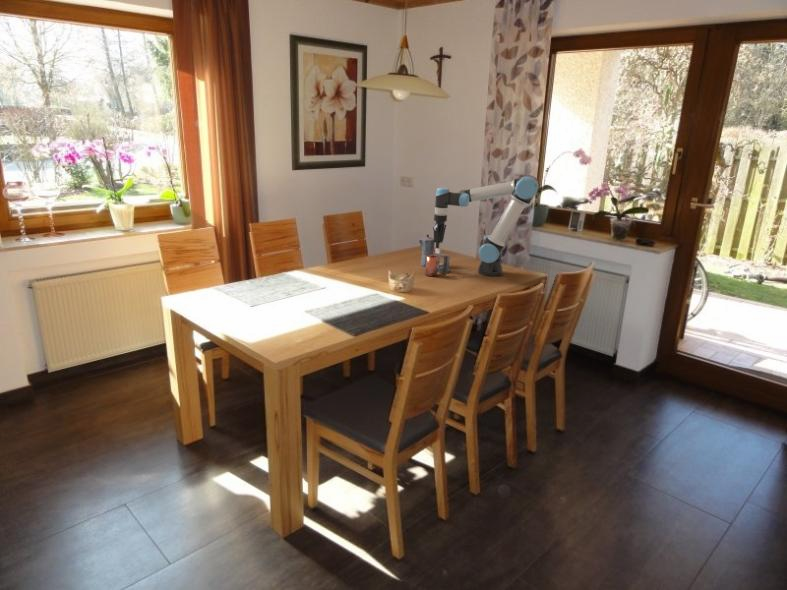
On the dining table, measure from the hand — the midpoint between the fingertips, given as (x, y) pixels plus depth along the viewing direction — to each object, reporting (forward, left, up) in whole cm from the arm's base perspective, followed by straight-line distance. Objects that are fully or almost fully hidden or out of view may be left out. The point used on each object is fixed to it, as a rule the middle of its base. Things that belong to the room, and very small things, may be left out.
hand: (437, 253), depth 334 cm
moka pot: (+13, -12, -12) cm, 22 cm away
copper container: (0, 0, -12) cm, 12 cm away
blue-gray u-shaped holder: (0, -5, -12) cm, 13 cm away
